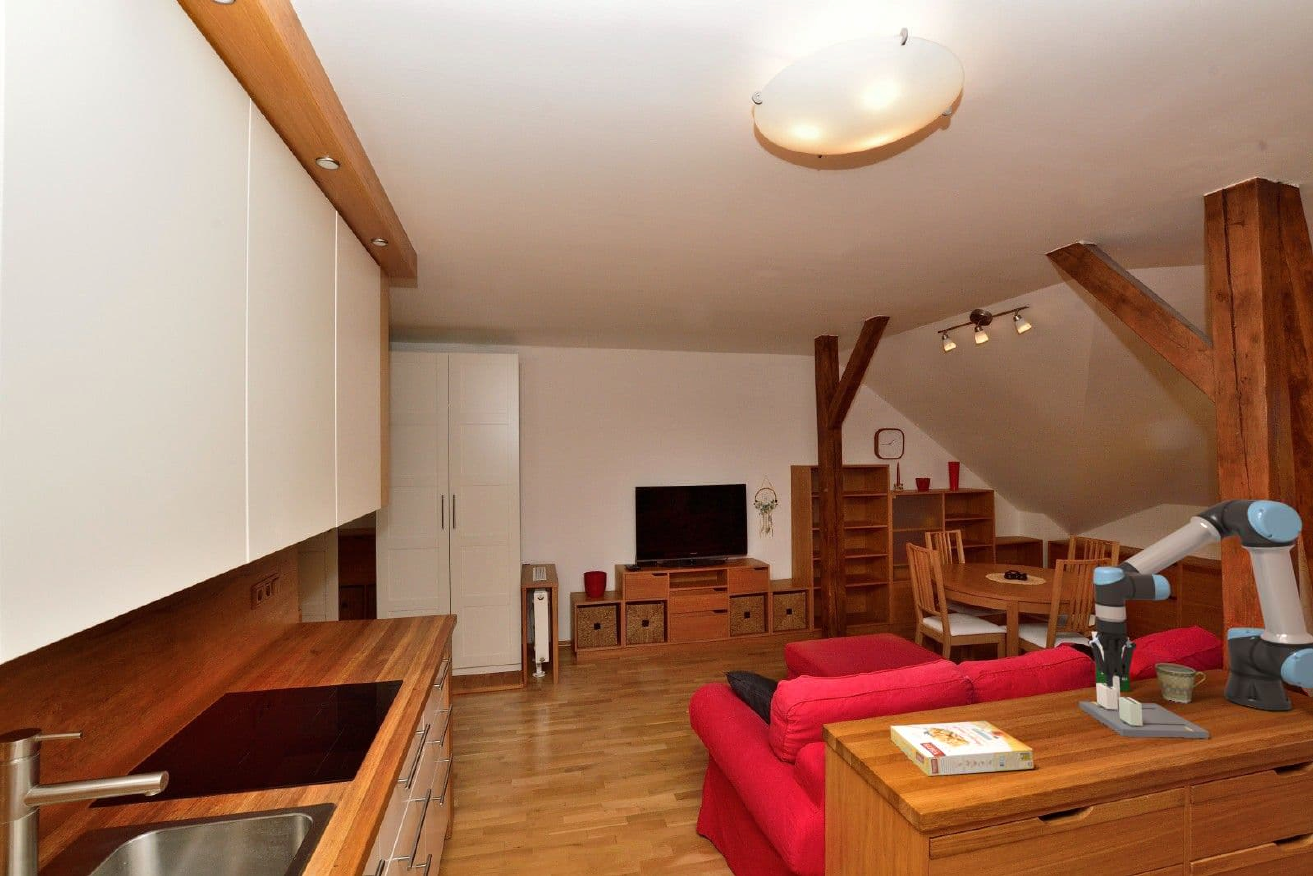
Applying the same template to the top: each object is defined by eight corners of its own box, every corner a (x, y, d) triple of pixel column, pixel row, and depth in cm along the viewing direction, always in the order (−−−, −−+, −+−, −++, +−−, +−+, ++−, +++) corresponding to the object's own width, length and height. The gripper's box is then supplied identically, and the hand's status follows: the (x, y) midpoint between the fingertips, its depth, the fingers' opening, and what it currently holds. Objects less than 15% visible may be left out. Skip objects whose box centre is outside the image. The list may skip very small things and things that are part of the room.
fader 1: (1107, 703, 189) (1106, 682, 190) (1118, 709, 184) (1116, 688, 185) (1097, 703, 190) (1096, 682, 190) (1107, 709, 185) (1106, 688, 185)
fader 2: (1130, 718, 177) (1129, 696, 178) (1142, 725, 172) (1141, 703, 173) (1119, 718, 178) (1118, 696, 178) (1131, 725, 173) (1129, 703, 173)
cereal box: (1034, 748, 153) (927, 755, 150) (1036, 771, 153) (928, 778, 150) (983, 718, 173) (888, 723, 170) (985, 738, 173) (889, 744, 170)
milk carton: (1107, 692, 205) (1103, 631, 206) (1090, 683, 214) (1087, 625, 215) (1135, 693, 204) (1131, 631, 205) (1117, 683, 213) (1114, 625, 214)
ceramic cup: (1166, 703, 194) (1164, 671, 195) (1150, 692, 204) (1149, 662, 205) (1216, 707, 191) (1213, 674, 191) (1198, 696, 200) (1196, 665, 201)
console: (1155, 710, 189) (1155, 703, 190) (1209, 739, 169) (1208, 731, 169) (1079, 708, 192) (1079, 701, 192) (1122, 736, 171) (1122, 729, 171)
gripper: (1125, 616, 191) (1129, 693, 190) (1080, 615, 193) (1084, 692, 191) (1141, 622, 184) (1146, 702, 182) (1095, 621, 185) (1099, 701, 184)
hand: (1114, 697), depth 187 cm, fingers closed
